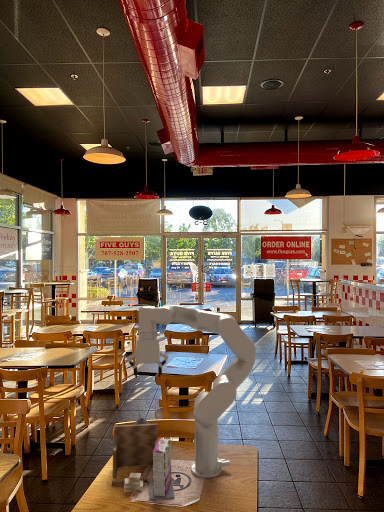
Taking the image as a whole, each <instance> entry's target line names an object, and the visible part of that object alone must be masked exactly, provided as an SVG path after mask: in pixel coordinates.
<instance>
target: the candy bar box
mask: <svg viewBox="0 0 384 512" xmlns="http://www.w3.org/2000/svg"><path fill="white" fill-rule="evenodd" d="M152 470H153V471H152V477H153V478H152V481H153V491H154V492H153V493H154V496H162V497H166V495H167V492H168V489H169V486H170V483H171V481H172V480H173V479H172V438H164V437H163V438H162V437H161V438H158V442H157V444H156V446H155V448H154V450H153V465H152Z"/></svg>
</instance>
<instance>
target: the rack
mask: <svg viewBox="0 0 384 512" xmlns="http://www.w3.org/2000/svg"><path fill="white" fill-rule="evenodd" d="M158 440H159V438H158V423H148V424H140V425H134V424H126V425H125V424H123V425H121V424H120V425H114V442H113V448H112V479H114V480H111V487H116V486H117V487H118V486H124V483H125V479H119V480H118V479H117V473H118V468H131V467H132V468H134V467H148V466H153V450H154V448H155V446H156V444H157V442H158ZM115 479H117V480H115ZM140 481H143V485H145V483H148V484H149V478H148V477H146V478H141V479H140Z"/></svg>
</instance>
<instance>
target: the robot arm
mask: <svg viewBox="0 0 384 512" xmlns="http://www.w3.org/2000/svg"><path fill="white" fill-rule="evenodd" d="M171 323H176V324H180V325H186V326H187V327H190V328H192V329H193V330H196V331H198V332H199V331H200V332H206V333H212V334H217V335H219V336H220V338H221V339H222V340H223V342H224V343H225V344H226V346H228V348H229V349H230V350H231V352H232V353H233V354H234V358H233V360H232V361H231V362H230V363H229V365H228V366H227V367H226V368H225V369H224V370H223V371H222V372H221V373H220V374H219V375H218V376H217V377H216V378H215V379H214V380H213V383H212V388H211V390H210V391H203V392H200V393H199V394H198V395H197V396H196V398H195V400H194V404H193V417H194V463H193V464H192V465H191V468H190V470H191V473H192V474H193V475H195V476H196V477H199V478H202V479H213V478H215V477H218V476H219V475H221V474H222V471H223V470H222V469H223V467H230V461H229V460H226V459H225V458H221V459H220V458H219V445H218V443H219V442H218V441H219V439H218V438H219V435H218V434H219V433H218V432H219V431H218V430H219V424H218V422H219V418H220V417H221V416H222V415H223V414H224V413H225V412H227V410H228V409H229V407H231V406H232V404H233V403H234V402H235V400H236V397H237V389H238V388H239V387H240V385H241V384H242V383H243V382H244V381H245V380H246V379H247V377H248V376H249V375H250V374H251V372H252V370H253V369H254V366H255V363H256V353H257V348H256V345H255V342H254V341H253V340H252V338H251V337H250V336H248V335H247V334H246V333H245V332H244V330H243V329H242V328H241V327H240V325H239V323H238V321H237V320H236V318H235V317H234V316H232V315H231V314H227V313H221V312H215V311H208V310H207V311H206V310H202V309H198V308H197V309H196V308H191V307H187V306H186V307H185V306H180V305H175V304H163V305H162V306H158V307H155V306H154V305H153V306H152V305H142V306H140V307H139V308H138V338H136V342H135V343H136V344H135V352H134V353H131V354H130V355H128V356H127V357H126V360H127V361H128V364H129V365H130V366H131V367H132V368H133V376H134V377H135V379H137V378H138V365H141V364H142V365H144V364H157V365H158V366H157V367H158V368H157V377H158V378H161V375H163V373H162V371H163V366H164V365H165V364H167V362H168V359H169V355H167V354H165V353H163V352H162V351H160V340H159V338H158V337H159V336H161V333H160V332H158V331H157V325H163V326H165V325H167V326H168V325H169V324H171ZM161 357H162V358H163V360H162V361H160V360H161ZM134 358H135V362H134V361H132V359H134Z"/></svg>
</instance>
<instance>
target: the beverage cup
mask: <svg viewBox="0 0 384 512" xmlns="http://www.w3.org/2000/svg"><path fill="white" fill-rule="evenodd" d="M137 410H138V419H137V420H136V421H135V422H134V424H133V425H140V424H149V422H148V421H147V419H146V418H142V417H141V412H140V408H138V409H137Z"/></svg>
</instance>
